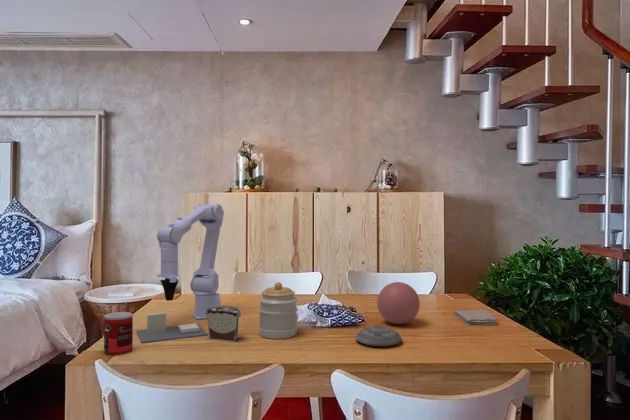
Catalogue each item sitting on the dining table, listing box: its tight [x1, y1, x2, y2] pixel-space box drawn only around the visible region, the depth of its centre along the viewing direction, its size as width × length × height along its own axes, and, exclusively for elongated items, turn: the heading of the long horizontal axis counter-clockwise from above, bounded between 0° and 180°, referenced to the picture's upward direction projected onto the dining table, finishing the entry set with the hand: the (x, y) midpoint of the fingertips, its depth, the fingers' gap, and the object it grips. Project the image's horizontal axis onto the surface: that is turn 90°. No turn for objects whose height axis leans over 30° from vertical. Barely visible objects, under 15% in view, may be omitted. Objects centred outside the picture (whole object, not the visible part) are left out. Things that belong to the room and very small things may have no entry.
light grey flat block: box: [177, 323, 199, 334], centre depth 162 cm, size 6×2×6 cm
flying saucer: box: [355, 324, 403, 347], centre depth 152 cm, size 15×15×6 cm
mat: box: [136, 323, 209, 344], centre depth 160 cm, size 21×15×1 cm
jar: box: [258, 281, 298, 340], centre depth 160 cm, size 13×13×18 cm
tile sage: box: [146, 312, 167, 333], centre depth 161 cm, size 6×2×6 cm, turn 116°
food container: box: [206, 305, 242, 343], centre depth 155 cm, size 12×6×10 cm, turn 71°
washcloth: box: [453, 309, 498, 327], centre depth 181 cm, size 12×18×3 cm, turn 1°
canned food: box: [103, 311, 134, 356], centre depth 141 cm, size 8×8×11 cm
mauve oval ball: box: [377, 281, 421, 325], centre depth 177 cm, size 15×20×15 cm
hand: (169, 300), depth 164 cm, fingers closed
